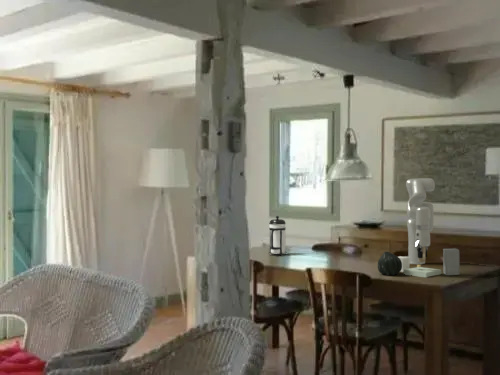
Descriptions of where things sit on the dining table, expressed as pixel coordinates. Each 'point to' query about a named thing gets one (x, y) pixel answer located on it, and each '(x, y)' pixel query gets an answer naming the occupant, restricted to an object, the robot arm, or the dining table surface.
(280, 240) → the coffee press
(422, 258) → the peg
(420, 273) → the peg board
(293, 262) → the dining table surface
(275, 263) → the dining table surface
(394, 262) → the squash
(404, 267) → the block
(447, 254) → the skincare box
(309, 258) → the dining table surface
